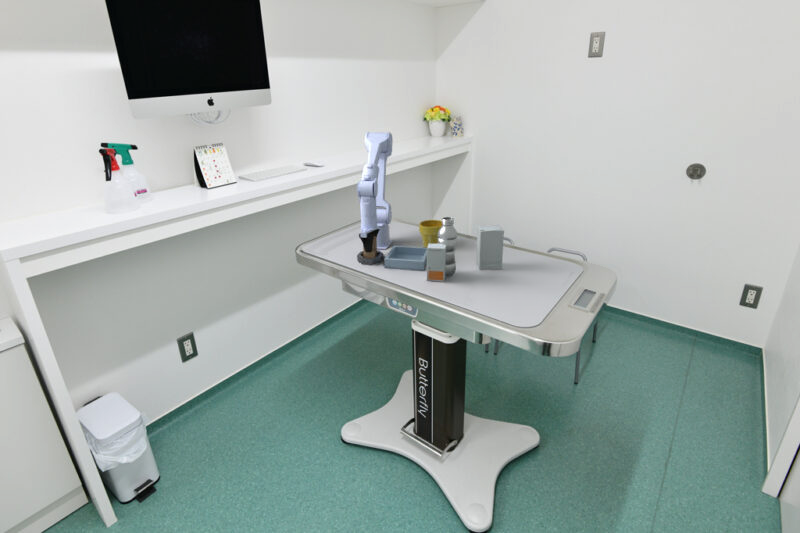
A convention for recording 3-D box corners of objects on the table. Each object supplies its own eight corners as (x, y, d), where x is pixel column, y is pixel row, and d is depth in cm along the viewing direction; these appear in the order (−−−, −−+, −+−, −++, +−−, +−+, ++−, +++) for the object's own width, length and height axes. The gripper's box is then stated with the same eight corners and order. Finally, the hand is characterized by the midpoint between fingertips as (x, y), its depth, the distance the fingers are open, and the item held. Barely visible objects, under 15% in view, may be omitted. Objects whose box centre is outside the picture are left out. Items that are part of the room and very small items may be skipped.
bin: (393, 254, 174) (393, 245, 172) (429, 256, 171) (430, 247, 169) (384, 268, 161) (384, 258, 160) (423, 271, 158) (423, 261, 157)
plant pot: (413, 245, 182) (413, 222, 178) (434, 240, 187) (434, 217, 184) (429, 253, 174) (429, 228, 170) (450, 247, 179) (451, 224, 176)
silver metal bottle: (440, 270, 159) (441, 214, 151) (458, 273, 156) (461, 217, 148) (433, 276, 153) (434, 219, 146) (451, 280, 151) (454, 222, 143)
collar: (362, 255, 173) (362, 249, 172) (385, 256, 171) (385, 250, 170) (355, 264, 165) (354, 257, 164) (379, 266, 163) (378, 259, 162)
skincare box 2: (498, 263, 164) (501, 224, 158) (502, 270, 158) (505, 229, 152) (475, 264, 163) (477, 224, 158) (478, 270, 158) (480, 230, 152)
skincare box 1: (426, 281, 150) (426, 247, 146) (427, 275, 154) (428, 242, 149) (444, 282, 149) (445, 248, 145) (445, 276, 153) (446, 243, 148)
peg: (366, 256, 170) (366, 236, 167) (377, 257, 169) (376, 236, 166) (363, 260, 166) (362, 239, 163) (374, 260, 165) (373, 240, 162)
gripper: (373, 220, 154) (375, 257, 159) (384, 209, 167) (385, 243, 172) (354, 219, 155) (356, 256, 160) (366, 208, 168) (367, 242, 173)
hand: (370, 249), depth 166 cm, fingers closed on peg, 4 cm apart
